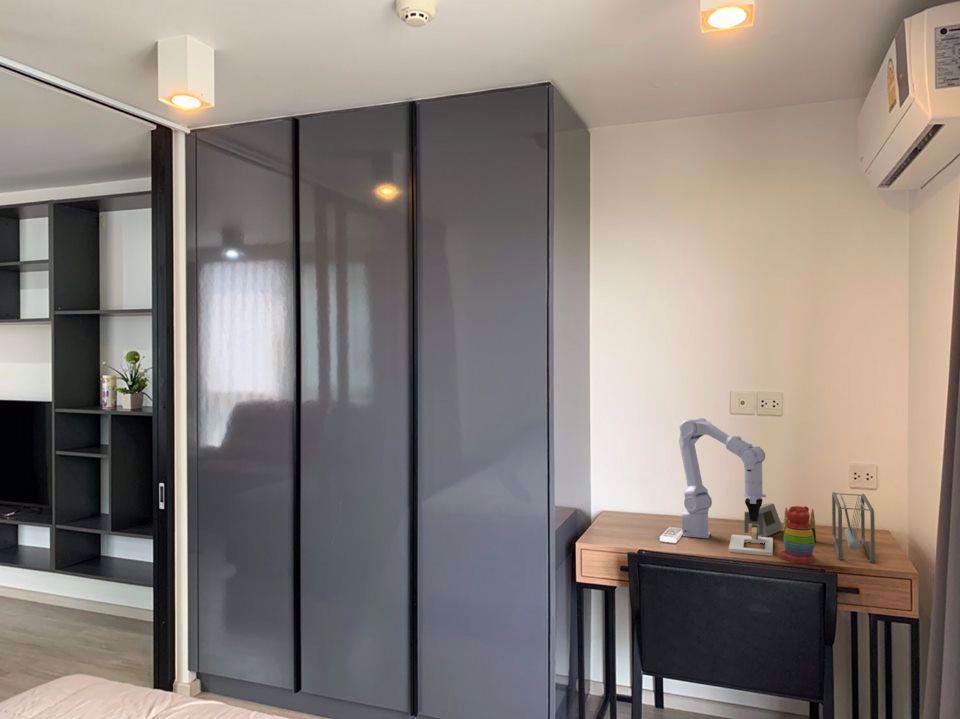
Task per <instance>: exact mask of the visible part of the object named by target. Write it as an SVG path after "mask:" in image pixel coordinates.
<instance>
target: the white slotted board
mask: <svg viewBox="0 0 960 719" xmlns="http://www.w3.org/2000/svg"><path fill="white" fill-rule="evenodd" d="M730 537H731V538H730V542H729V545H728V552H729V553H737V554H747V555H756V556H757V555H758V556H770V557H773V556H774V555H773V554H774V551H773V550H774V549H773V548H774V547H773V546H774V538H773V537H761V536H759V535H758V524H752V523H751V535H743V534H733V533H732V534H731V536H730ZM748 542H751V544H760V543H763V544H762V545H764V549H763V548H752V547H745V543H748ZM764 543H765V544H764Z"/></svg>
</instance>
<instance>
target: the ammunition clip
mask: <svg viewBox="0 0 960 719" xmlns="http://www.w3.org/2000/svg"><path fill="white" fill-rule="evenodd" d="M788 510H789V509H788V507H785V509H784V517H783V534H784V533H785V528H786V526H787V524H788V523H789V522H790V521H789V519H788V517H787V512H788ZM807 524H809V525H810V527H811V529H812V531H813V536H814V541H815V542H814V543H817V537H816V535H817V534H816V519H815V511H814V509H813V508H811V510H810V519H809V521H808V523H807ZM782 539H783V540H784V537H783V538H782Z"/></svg>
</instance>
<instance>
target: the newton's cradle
mask: <svg viewBox="0 0 960 719" xmlns="http://www.w3.org/2000/svg"><path fill="white" fill-rule="evenodd" d="M838 495H839V496H840V499H841V501H842V503H843V507H842V506H841V503H840V500H839V498H838ZM844 495H845V496H850V498H851V499H850V500H851V501H849V500H848V502H849V503H847V502H846V503H845V499H844V497H843V496H844ZM852 496H856V497H852ZM852 498H855V499H852ZM852 500H853V501H852ZM854 500H855V505H854V508H853V507H852V508H851V507H849V505H851V504H852V503H854ZM856 500H857V501H856ZM851 502H852V503H851ZM848 504H849V505H848ZM865 505H866V507H867V508H868V509H867V508H866V507H865ZM847 506H848V507H847ZM836 507H837V508H836ZM836 509H837V512H836ZM842 509H843V510H844V513H845V517H846V522H847V528H845V529H844V532H843V510H842ZM848 510H852V511H853V510H854V511H853V515H852V520H851V521H852V522H850V518H849V517H850V516H849V513H848ZM865 511H869V513H870V518H869V519H870V549H869V547H868V544H867V542H866V538H865V537H866V536H865V534H866V533H865V532H866V531H865V528H866V527H865V523H866V522H865V520H866V519H865V517H866V516H865V514H866V513H865ZM836 513H837V516H836ZM831 514H832V515H831V524H832V526H831V528H832V529H831V531H832V540H833V545H834V548H835V552H836V555H837V558H838V560H839V559H840V560H839V561H841V559H842V560H851V561H862V562H863V561H864V562H870V563H872V564H874V563H875V560H876V552H875V551H876V550H875V548H876V547H875V546H876V545H875V544H876V543H875V534H876V533H875V530H876V529H875V511H874V508H873V506H872V505H871V503H870V501H869V500H868V497H867V496H866V495H865V493H860V494H857V493H856V494H855V493H854V494H853V493H841V492H839V493H837V492H835V491H832V494H831ZM836 517H837V520H836ZM836 521H837V523H836ZM859 524H860V525H859ZM836 525H837V526H836ZM859 526H860V539H861V540H860V539H859V537H858V535H857V534H858V530H859ZM836 527H838V528H836ZM837 530H838V531H837ZM836 532H837V533H838V534H837V533H836ZM843 534H844V537H845V539H843ZM837 536H838V537H837ZM845 540H846V543H847V546H848V548H849V549H850V550H852V551H858V550H860V548H861V546H863V548H864V550H865V553H866V555H867V557H868V559H862V558H861V559H859V558H850V557H843V541H845ZM861 543H862V544H861Z"/></svg>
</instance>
